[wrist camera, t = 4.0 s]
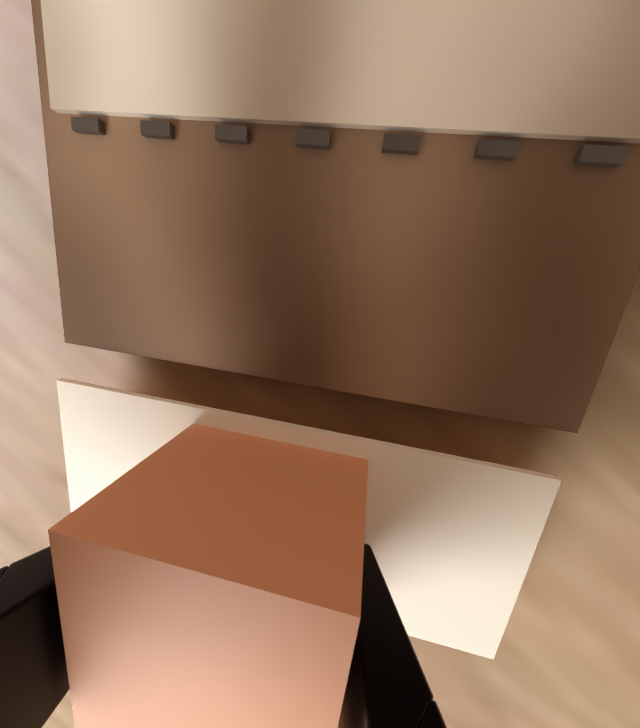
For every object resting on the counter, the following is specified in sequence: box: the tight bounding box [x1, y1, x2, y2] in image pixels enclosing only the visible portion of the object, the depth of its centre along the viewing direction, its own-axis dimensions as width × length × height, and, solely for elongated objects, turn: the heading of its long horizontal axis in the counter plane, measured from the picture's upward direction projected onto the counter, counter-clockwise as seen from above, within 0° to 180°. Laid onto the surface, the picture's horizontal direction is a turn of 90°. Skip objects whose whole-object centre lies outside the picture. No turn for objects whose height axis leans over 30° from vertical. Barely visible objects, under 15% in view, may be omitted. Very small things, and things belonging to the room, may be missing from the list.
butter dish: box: [48, 378, 562, 728], centre depth 7 cm, size 14×6×4 cm, turn 83°
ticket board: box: [31, 0, 640, 433], centre depth 7 cm, size 15×18×2 cm
